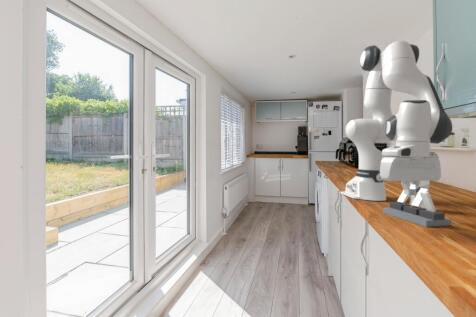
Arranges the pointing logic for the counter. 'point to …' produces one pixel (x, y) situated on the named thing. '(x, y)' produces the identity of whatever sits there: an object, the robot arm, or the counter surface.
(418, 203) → the breaker
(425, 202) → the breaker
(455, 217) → the counter surface
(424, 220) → the panel
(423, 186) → the beer glass
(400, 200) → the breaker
